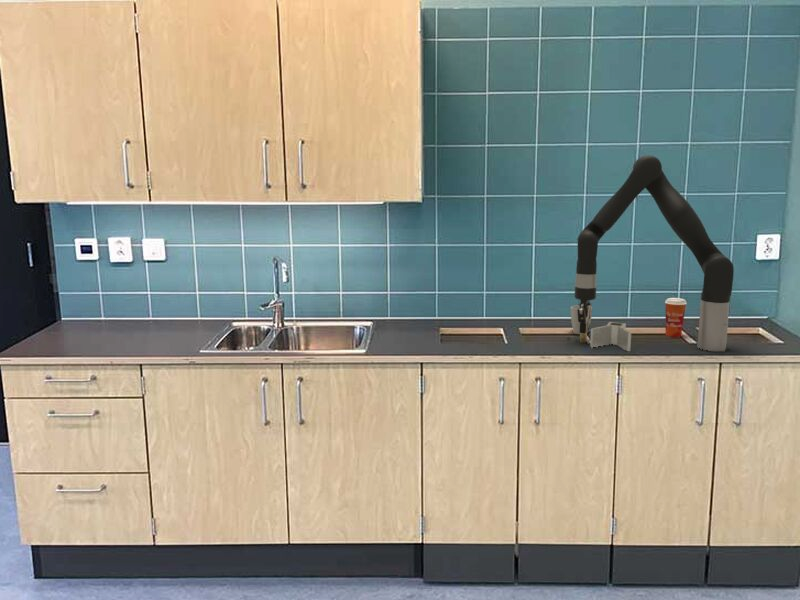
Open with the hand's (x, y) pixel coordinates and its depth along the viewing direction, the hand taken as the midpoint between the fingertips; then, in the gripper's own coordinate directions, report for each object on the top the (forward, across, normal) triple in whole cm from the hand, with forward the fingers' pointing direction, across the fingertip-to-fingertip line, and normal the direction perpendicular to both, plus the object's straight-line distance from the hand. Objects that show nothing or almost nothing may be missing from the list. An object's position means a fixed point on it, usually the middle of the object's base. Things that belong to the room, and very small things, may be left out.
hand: (583, 332), depth 264 cm
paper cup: (+4, +24, -29) cm, 38 cm away
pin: (+4, 0, 0) cm, 4 cm away
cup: (+4, +14, +4) cm, 15 cm away
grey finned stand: (+4, -1, -11) cm, 12 cm away
